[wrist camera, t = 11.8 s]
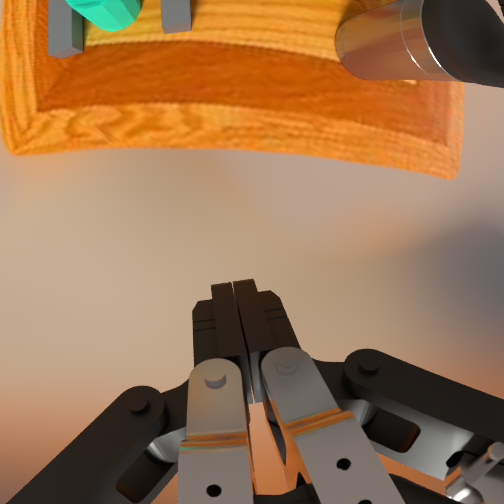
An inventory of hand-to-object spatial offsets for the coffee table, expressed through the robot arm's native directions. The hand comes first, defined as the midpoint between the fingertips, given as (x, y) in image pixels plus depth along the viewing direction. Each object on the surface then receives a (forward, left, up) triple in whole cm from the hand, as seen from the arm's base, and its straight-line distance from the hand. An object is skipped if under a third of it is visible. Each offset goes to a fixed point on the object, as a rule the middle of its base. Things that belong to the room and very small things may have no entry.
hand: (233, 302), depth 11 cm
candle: (+9, -21, -29) cm, 37 cm away
